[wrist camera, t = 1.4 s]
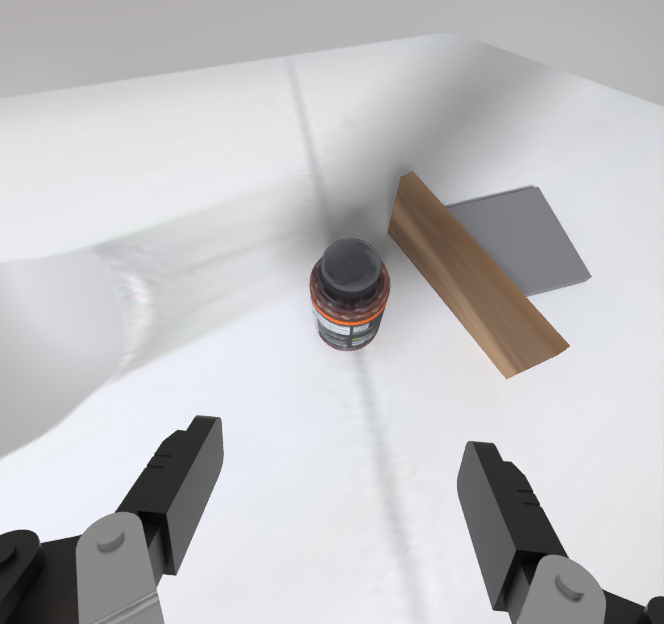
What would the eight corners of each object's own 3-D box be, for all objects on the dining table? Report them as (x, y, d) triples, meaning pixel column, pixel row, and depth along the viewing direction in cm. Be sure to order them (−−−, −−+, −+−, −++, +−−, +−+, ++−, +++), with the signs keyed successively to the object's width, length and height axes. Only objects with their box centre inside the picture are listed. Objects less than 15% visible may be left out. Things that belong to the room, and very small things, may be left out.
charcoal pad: (533, 193, 40) (538, 186, 39) (585, 281, 36) (591, 276, 35) (437, 215, 39) (440, 209, 38) (480, 308, 35) (483, 304, 34)
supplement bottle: (345, 281, 36) (349, 208, 26) (392, 321, 35) (417, 260, 24) (301, 323, 35) (287, 264, 24) (349, 366, 33) (355, 323, 23)
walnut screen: (397, 226, 38) (412, 171, 31) (516, 372, 33) (570, 346, 25) (387, 232, 38) (400, 177, 31) (506, 379, 33) (557, 355, 25)
